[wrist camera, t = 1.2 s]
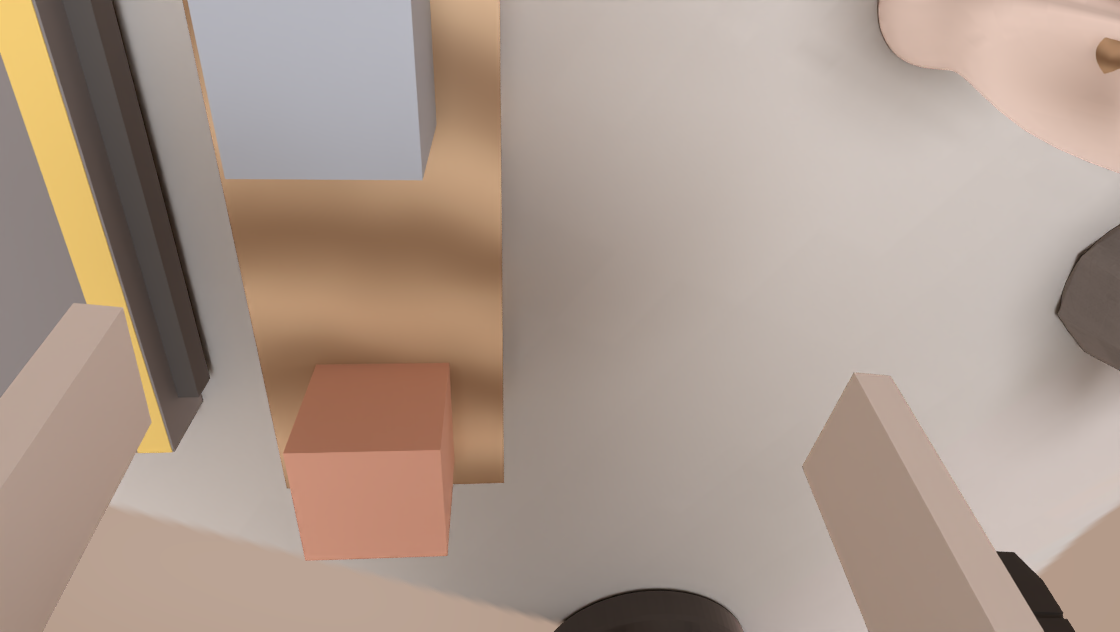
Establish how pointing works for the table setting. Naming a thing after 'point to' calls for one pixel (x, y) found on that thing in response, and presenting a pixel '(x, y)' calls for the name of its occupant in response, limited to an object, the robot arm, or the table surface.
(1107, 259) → the coffeepot
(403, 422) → the salmon pink cube
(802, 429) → the table surface
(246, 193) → the pallet
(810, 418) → the table surface
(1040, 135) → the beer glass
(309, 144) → the grey block
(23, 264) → the block
